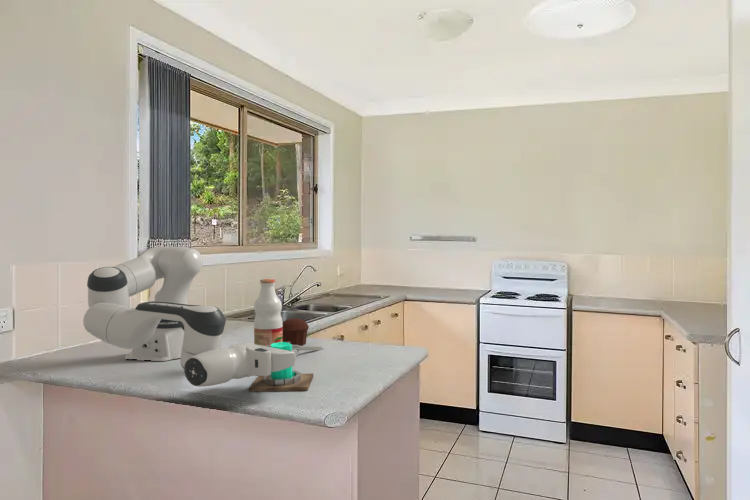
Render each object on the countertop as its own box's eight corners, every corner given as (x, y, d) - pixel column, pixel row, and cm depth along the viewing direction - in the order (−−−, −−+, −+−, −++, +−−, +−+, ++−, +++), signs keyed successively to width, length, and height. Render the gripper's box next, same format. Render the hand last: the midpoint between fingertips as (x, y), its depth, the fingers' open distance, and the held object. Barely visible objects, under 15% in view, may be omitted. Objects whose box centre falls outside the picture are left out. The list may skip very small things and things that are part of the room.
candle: (272, 378, 153) (271, 337, 152) (292, 377, 153) (292, 336, 153) (270, 383, 147) (269, 341, 146) (292, 383, 147) (291, 340, 147)
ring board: (249, 391, 143) (249, 387, 143) (260, 377, 157) (260, 374, 157) (307, 390, 143) (307, 387, 143) (313, 376, 157) (313, 373, 157)
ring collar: (260, 385, 145) (260, 379, 145) (268, 375, 156) (268, 370, 156) (298, 385, 145) (298, 379, 145) (303, 375, 156) (303, 369, 156)
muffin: (306, 340, 212) (306, 316, 211) (312, 346, 201) (311, 320, 201) (276, 342, 208) (276, 317, 207) (280, 348, 197) (280, 322, 197)
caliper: (285, 360, 179) (284, 342, 179) (282, 360, 180) (282, 342, 179) (324, 349, 196) (323, 333, 195) (321, 349, 196) (321, 332, 196)
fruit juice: (254, 360, 179) (253, 278, 178) (282, 358, 181) (281, 277, 180) (254, 367, 170) (253, 281, 169) (283, 365, 172) (282, 280, 171)
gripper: (222, 365, 146) (261, 356, 157) (270, 377, 134) (309, 366, 145) (221, 343, 146) (260, 335, 157) (270, 352, 134) (309, 343, 145)
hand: (284, 350), depth 151 cm, fingers open, 8 cm apart
